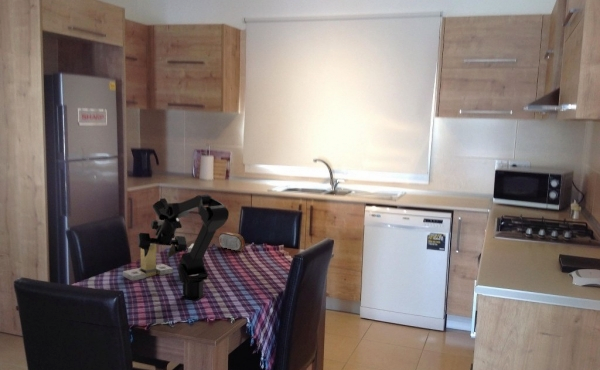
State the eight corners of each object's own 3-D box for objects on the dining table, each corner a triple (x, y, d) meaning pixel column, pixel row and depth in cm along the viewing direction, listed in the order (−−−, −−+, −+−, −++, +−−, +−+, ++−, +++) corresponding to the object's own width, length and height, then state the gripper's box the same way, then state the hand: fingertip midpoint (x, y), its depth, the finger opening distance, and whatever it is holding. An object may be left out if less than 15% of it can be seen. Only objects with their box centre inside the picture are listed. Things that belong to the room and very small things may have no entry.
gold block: (156, 274, 216) (156, 243, 215) (145, 276, 213) (145, 245, 211) (150, 272, 219) (150, 241, 218) (140, 274, 216) (140, 243, 215)
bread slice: (244, 251, 259) (245, 234, 258) (240, 252, 256) (241, 235, 255) (221, 246, 267) (221, 230, 266) (217, 247, 264) (217, 231, 263)
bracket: (173, 272, 220) (173, 268, 219) (132, 280, 207) (132, 275, 207) (163, 268, 225) (163, 263, 225) (122, 276, 213) (122, 270, 213)
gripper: (188, 216, 212) (175, 243, 220) (141, 211, 202) (130, 239, 210) (193, 236, 204) (180, 263, 212) (144, 232, 195) (133, 260, 203)
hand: (156, 256), depth 210 cm, fingers open, 9 cm apart
